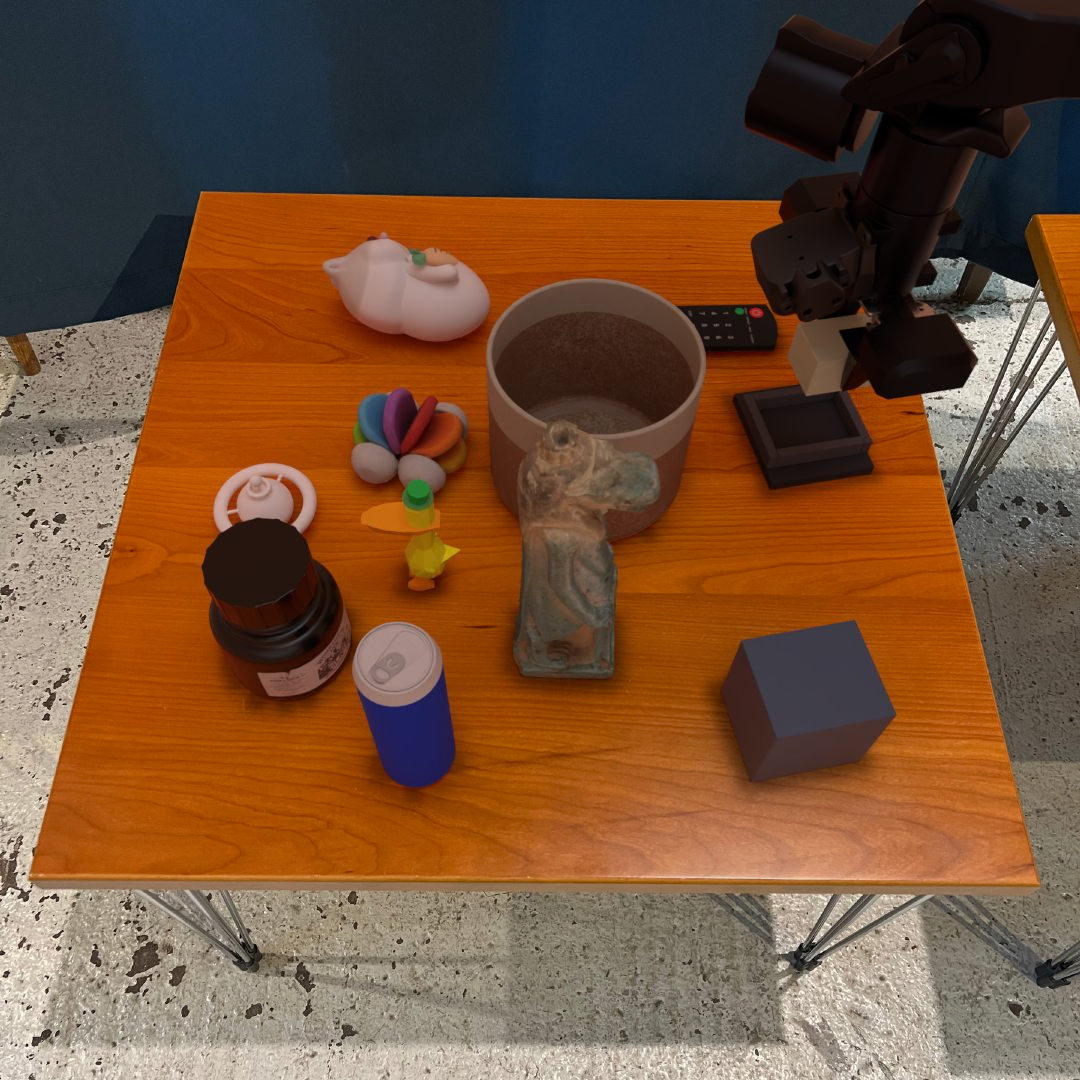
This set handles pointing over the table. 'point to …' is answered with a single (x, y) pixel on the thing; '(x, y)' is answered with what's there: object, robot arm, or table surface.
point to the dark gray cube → (805, 700)
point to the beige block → (822, 353)
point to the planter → (595, 381)
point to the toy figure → (414, 532)
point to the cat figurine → (409, 290)
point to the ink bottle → (275, 610)
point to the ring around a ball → (265, 496)
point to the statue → (573, 549)
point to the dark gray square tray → (804, 435)
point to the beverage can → (406, 702)
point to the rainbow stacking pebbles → (408, 439)
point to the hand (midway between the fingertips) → (835, 367)
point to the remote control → (733, 327)
